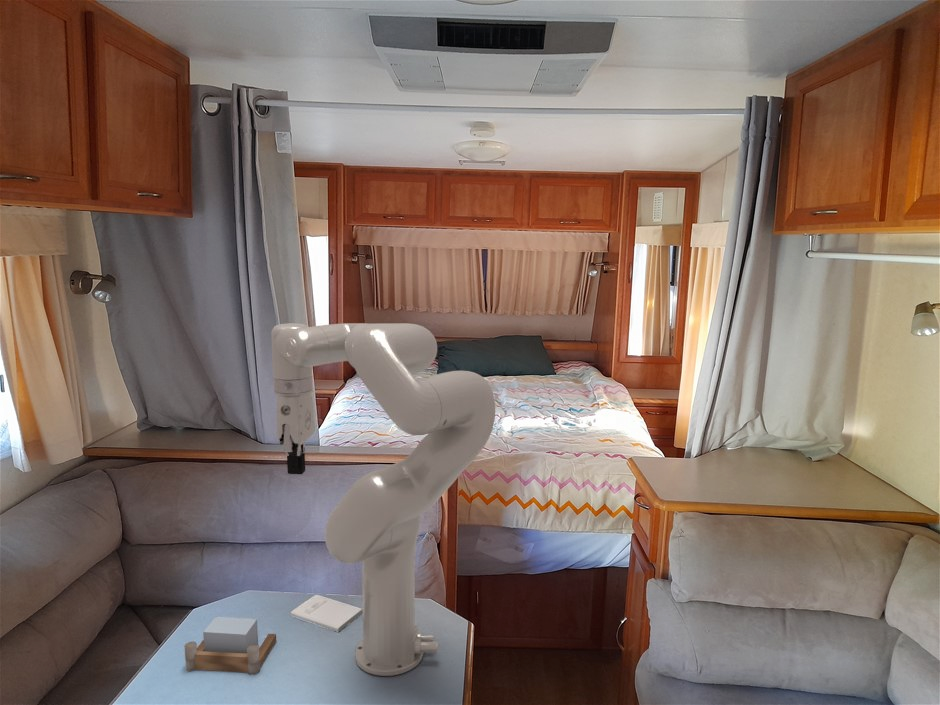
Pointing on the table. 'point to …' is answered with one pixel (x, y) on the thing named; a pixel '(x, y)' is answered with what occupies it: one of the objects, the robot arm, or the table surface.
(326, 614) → the external hard drive
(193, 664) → the frame
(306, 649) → the table surface
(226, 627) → the tall white block
